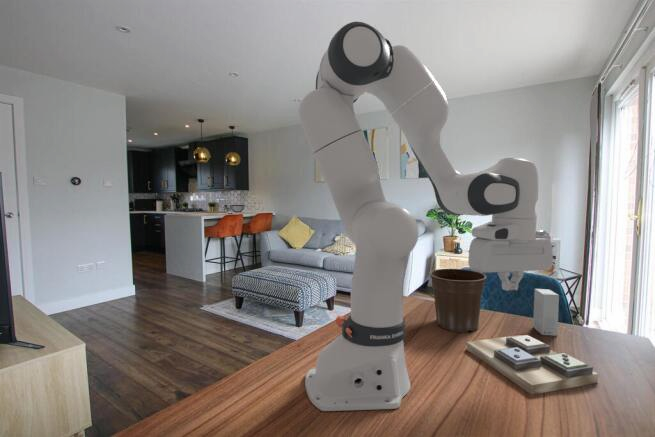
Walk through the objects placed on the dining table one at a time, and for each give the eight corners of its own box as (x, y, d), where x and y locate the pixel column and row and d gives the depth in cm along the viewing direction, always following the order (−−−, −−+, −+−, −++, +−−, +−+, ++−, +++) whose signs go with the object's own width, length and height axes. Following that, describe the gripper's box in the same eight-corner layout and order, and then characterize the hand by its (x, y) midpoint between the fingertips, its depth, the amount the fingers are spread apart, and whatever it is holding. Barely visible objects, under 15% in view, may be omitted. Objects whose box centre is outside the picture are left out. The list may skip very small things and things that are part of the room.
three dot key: (567, 375, 68) (567, 366, 68) (545, 363, 72) (546, 354, 72) (585, 372, 69) (586, 363, 69) (563, 360, 74) (564, 352, 74)
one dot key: (527, 353, 77) (527, 345, 77) (511, 343, 82) (511, 336, 82) (544, 350, 79) (544, 342, 78) (527, 341, 83) (527, 334, 83)
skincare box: (558, 336, 91) (559, 295, 90) (541, 335, 92) (542, 294, 91) (548, 327, 97) (549, 289, 96) (532, 326, 98) (533, 288, 97)
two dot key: (516, 368, 71) (516, 359, 71) (499, 357, 75) (499, 349, 75) (535, 365, 72) (535, 356, 72) (517, 354, 77) (517, 346, 77)
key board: (531, 394, 64) (532, 377, 64) (466, 349, 84) (467, 336, 84) (597, 382, 68) (598, 366, 68) (520, 342, 88) (521, 329, 88)
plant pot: (426, 330, 96) (427, 277, 95) (431, 312, 111) (431, 266, 110) (487, 339, 90) (488, 282, 89) (483, 319, 104) (484, 270, 103)
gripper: (538, 229, 79) (535, 284, 80) (465, 229, 74) (462, 287, 75) (562, 231, 73) (558, 291, 74) (484, 232, 68) (481, 295, 69)
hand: (509, 289), depth 74 cm, fingers closed
